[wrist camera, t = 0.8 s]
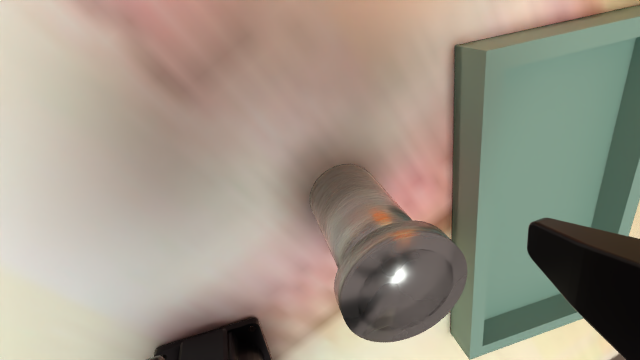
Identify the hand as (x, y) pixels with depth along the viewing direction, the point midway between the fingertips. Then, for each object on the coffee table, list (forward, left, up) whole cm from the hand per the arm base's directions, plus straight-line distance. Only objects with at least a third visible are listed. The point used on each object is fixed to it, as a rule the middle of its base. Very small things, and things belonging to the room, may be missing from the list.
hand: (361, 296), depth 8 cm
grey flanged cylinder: (-4, -3, -12) cm, 13 cm away
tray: (-8, -16, -12) cm, 21 cm away
